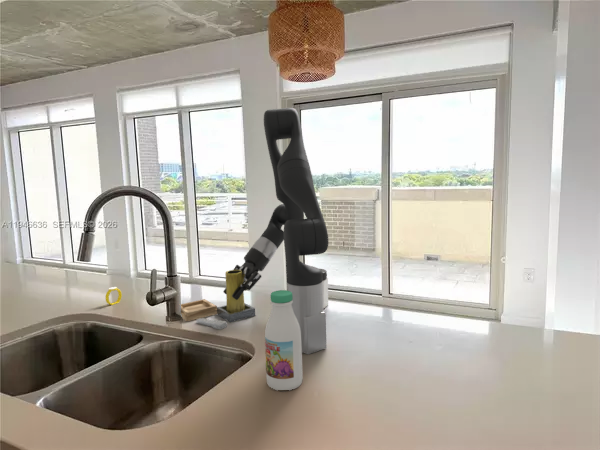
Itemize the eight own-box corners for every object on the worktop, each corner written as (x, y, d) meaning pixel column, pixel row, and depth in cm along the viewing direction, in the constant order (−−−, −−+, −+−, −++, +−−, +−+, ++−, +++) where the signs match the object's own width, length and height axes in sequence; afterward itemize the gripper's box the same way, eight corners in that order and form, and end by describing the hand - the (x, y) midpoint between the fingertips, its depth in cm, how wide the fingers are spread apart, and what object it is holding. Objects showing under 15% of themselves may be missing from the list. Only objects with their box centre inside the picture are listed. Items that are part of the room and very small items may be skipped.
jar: (333, 305, 138) (332, 271, 136) (315, 311, 132) (314, 275, 131) (315, 300, 144) (314, 266, 143) (297, 305, 139) (296, 270, 138)
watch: (110, 307, 145) (108, 291, 143) (105, 306, 146) (102, 290, 145) (124, 301, 150) (121, 285, 149) (118, 300, 151) (116, 285, 150)
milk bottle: (283, 370, 93) (280, 285, 91) (309, 380, 88) (307, 291, 86) (259, 384, 87) (255, 294, 85) (286, 396, 83) (282, 300, 80)
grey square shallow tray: (255, 315, 131) (255, 308, 130) (229, 322, 125) (229, 314, 125) (241, 308, 138) (241, 301, 137) (217, 314, 132) (216, 307, 132)
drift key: (226, 326, 122) (226, 322, 122) (220, 329, 119) (219, 325, 119) (202, 320, 128) (202, 316, 127) (195, 323, 125) (195, 318, 125)
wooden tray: (219, 313, 133) (218, 306, 133) (186, 321, 127) (186, 313, 127) (205, 305, 142) (205, 298, 142) (174, 312, 136) (174, 305, 136)
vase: (223, 317, 129) (220, 273, 128) (231, 311, 135) (229, 269, 134) (240, 319, 128) (238, 274, 126) (248, 312, 133) (246, 269, 132)
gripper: (242, 244, 139) (212, 284, 133) (265, 249, 127) (232, 294, 122) (257, 257, 143) (227, 297, 137) (279, 263, 131) (248, 308, 126)
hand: (230, 295), depth 130 cm, fingers closed on vase, 5 cm apart
